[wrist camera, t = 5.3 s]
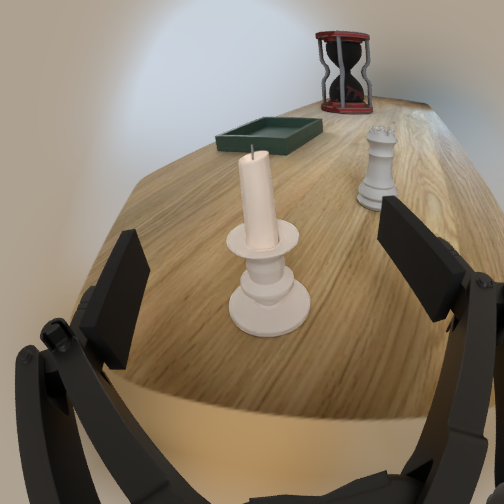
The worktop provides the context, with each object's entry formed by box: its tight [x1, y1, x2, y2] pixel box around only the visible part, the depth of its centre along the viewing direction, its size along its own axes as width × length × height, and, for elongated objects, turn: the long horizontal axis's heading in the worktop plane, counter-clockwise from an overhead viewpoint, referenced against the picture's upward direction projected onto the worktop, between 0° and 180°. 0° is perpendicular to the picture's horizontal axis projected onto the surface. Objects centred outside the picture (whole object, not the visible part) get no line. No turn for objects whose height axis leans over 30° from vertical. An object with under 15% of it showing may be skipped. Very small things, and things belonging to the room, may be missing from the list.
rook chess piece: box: [357, 126, 398, 211], centre depth 26 cm, size 4×4×8 cm
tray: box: [215, 117, 323, 155], centre depth 52 cm, size 18×14×3 cm
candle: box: [227, 144, 310, 337], centre depth 16 cm, size 5×5×10 cm
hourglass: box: [316, 31, 373, 114], centre depth 72 cm, size 16×16×25 cm
